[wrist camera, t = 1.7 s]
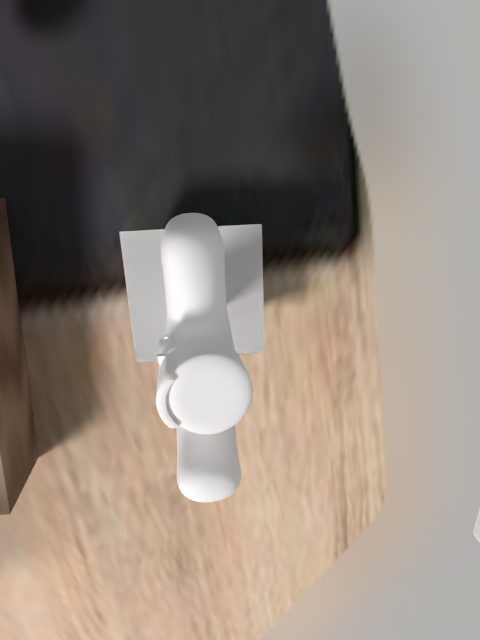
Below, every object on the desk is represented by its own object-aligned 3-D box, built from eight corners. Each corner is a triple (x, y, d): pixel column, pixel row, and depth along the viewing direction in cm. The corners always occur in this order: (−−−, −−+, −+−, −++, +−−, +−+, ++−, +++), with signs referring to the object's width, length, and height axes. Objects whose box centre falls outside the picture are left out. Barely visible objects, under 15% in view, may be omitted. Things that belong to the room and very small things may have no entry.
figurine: (251, 196, 27) (322, 238, 13) (256, 345, 30) (316, 511, 16) (125, 202, 26) (53, 253, 12) (144, 354, 29) (103, 535, 15)
